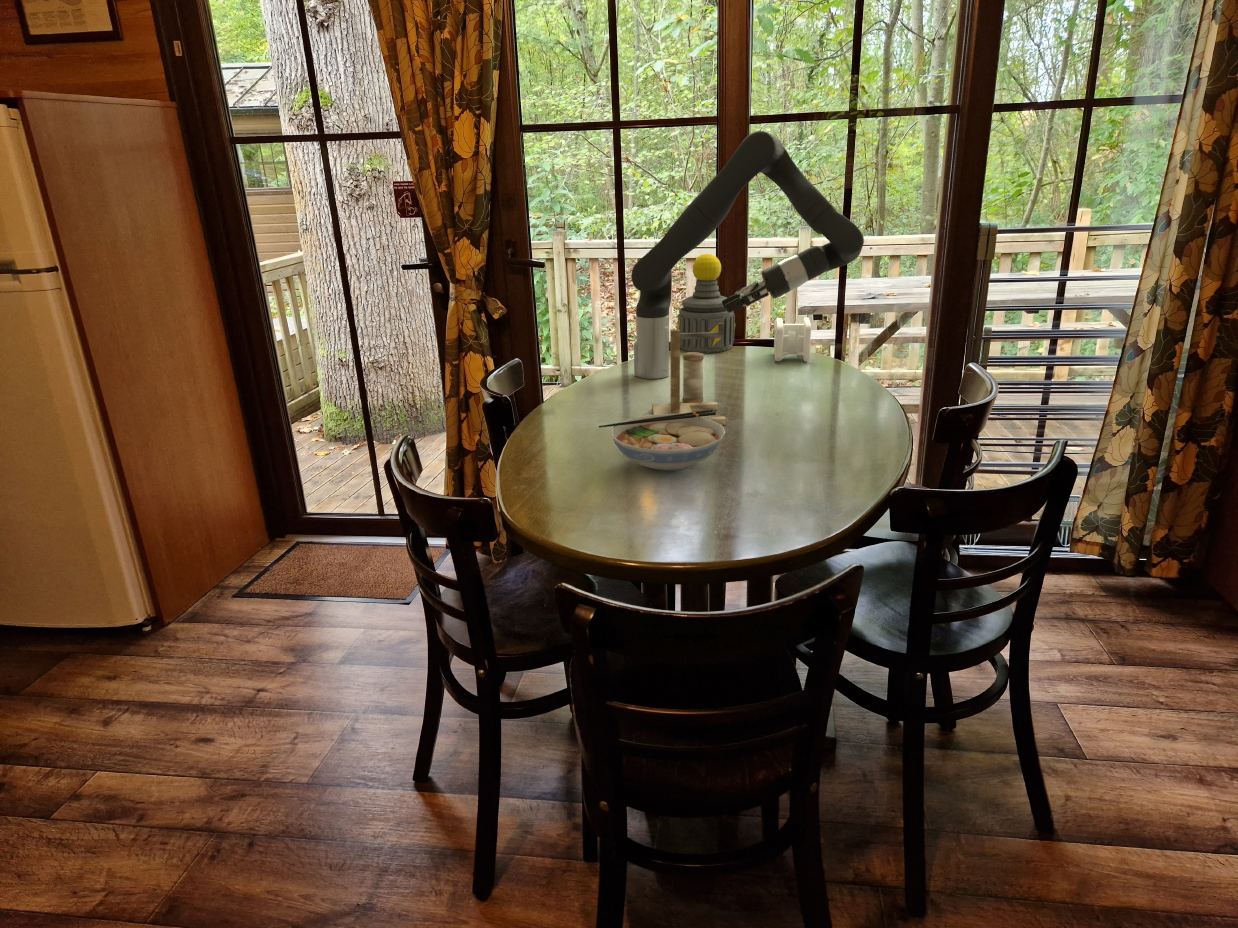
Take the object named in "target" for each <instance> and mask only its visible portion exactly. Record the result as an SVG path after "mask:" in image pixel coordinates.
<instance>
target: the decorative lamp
mask: <svg viewBox="0 0 1238 928" xmlns="http://www.w3.org/2000/svg"><path fill="white" fill-rule="evenodd" d="M721 272H722V264H721V262H720V259H718V257H717V256H716V255H714V254H712V253H703V254H701V255H699V256H697V258H696V259H695V260H694V261H693V265H692V274H693V277H695V279H696V282H695V286H694V287H693V288H694V289H693V290H694V291H693V293H692V295H691V296H687V297H685V298H683V299H682V301H681V305H682V307H680V309H679V310H678V315H677V325H676V326H675V327H676V328H675V329H679V330H680V333H697V332H718V323H723V338H705V339H680V350H682V351H685V352H699V353H703V354H711V353H713V354H714V353H723V352H726V351H729V350H731V349H732V348H733V344H734V343H735V329H736V325H737V324H736V323H735V322H736V321H735V320H736V318H735V317H736V315H735V313H734V311H732V312H730V313H729V312H728V311H727V309H725V308H724V306H723V304H722V300H724V299H726V298H727V297H726V296H723V295H721V293H720V292H721V291H719V289H720V288H719V285H718V278H719V277H720V275H721Z"/></svg>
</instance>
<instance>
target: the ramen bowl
mask: <svg viewBox="0 0 1238 928" xmlns="http://www.w3.org/2000/svg"><path fill="white" fill-rule="evenodd" d="M716 413H717V412H716V411H714V410H712V409H709V410H703V411H692V412H689V413H683V414H655V415H653V414H648V415H642V416H636V417H631V418H628V419H625V420H623V421H620V422H615V423H611V424H603V425H602V424H601V425H598V429H599V428H607V427H609V428H610V427H612V428H611V429H610V434H611V439H612V440H613V442H614V444H615V446H616V447H617V448H618V450H619V451H620V452H621V453H622V454H623V456H625V457H626V458H628V459H629V460H631V461H632V462H634V463H636V464H638V465H639V466H642V467H646V468H650V469H652V470H654V471H658V472H664V473H665V472H667V473H668V472H676V471H681V470H683V469H686V468H689V467H693V466H695V465H698V464H699V463H701V462H704V461H705V460H707V459H708V458H709V457H710V456H711V455H713V453H714V452H715V451H716V449H717V448H718V446H719V444H720V443H721V441H722V440H723V438H724V436H725V434H726V430H725V428H724V426H723V425H721V424H719V423H717V422H714V421H712V420H710V419H707V418H702V417H713V416H716V415H717V414H716Z"/></svg>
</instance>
